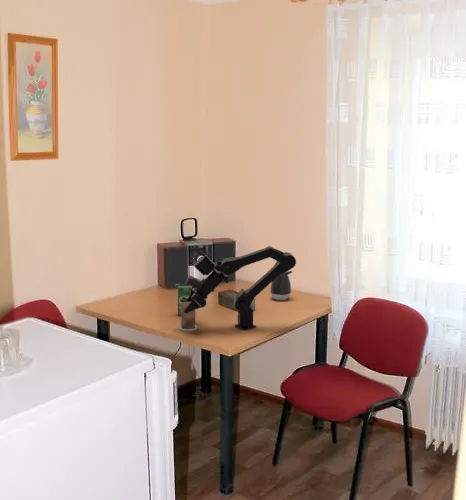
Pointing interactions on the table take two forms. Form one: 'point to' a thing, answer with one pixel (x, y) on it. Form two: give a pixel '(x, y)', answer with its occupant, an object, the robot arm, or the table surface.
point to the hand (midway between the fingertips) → (184, 308)
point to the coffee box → (183, 296)
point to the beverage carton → (230, 299)
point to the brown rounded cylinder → (187, 317)
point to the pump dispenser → (281, 287)
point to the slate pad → (188, 329)
